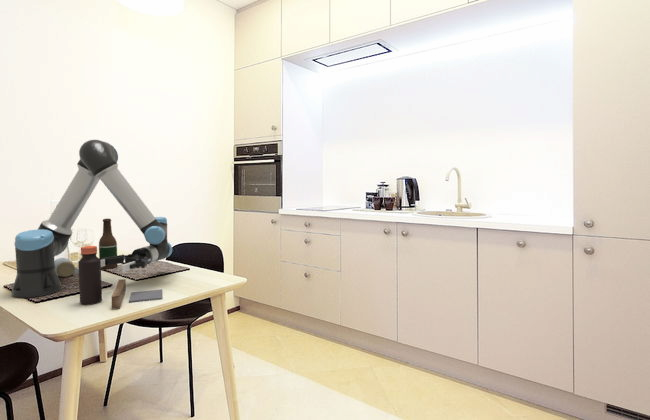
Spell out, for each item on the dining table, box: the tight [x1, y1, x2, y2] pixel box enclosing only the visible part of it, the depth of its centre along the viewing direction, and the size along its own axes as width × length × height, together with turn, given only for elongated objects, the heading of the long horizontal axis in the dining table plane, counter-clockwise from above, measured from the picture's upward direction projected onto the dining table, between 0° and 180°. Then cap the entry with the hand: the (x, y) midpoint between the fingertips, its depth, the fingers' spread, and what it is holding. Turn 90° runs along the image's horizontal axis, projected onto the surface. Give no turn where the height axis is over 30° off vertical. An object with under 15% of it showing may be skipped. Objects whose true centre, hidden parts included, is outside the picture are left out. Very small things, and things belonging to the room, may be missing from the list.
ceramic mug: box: [54, 257, 79, 278], centre depth 171 cm, size 11×8×8 cm
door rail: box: [111, 278, 127, 310], centre depth 140 cm, size 2×22×4 cm, turn 23°
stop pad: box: [128, 289, 163, 304], centre depth 143 cm, size 11×11×1 cm
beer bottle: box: [98, 218, 118, 270], centre depth 184 cm, size 8×8×24 cm
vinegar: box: [77, 245, 103, 306], centre depth 135 cm, size 7×7×20 cm
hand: (106, 267), depth 142 cm, fingers open, 13 cm apart
